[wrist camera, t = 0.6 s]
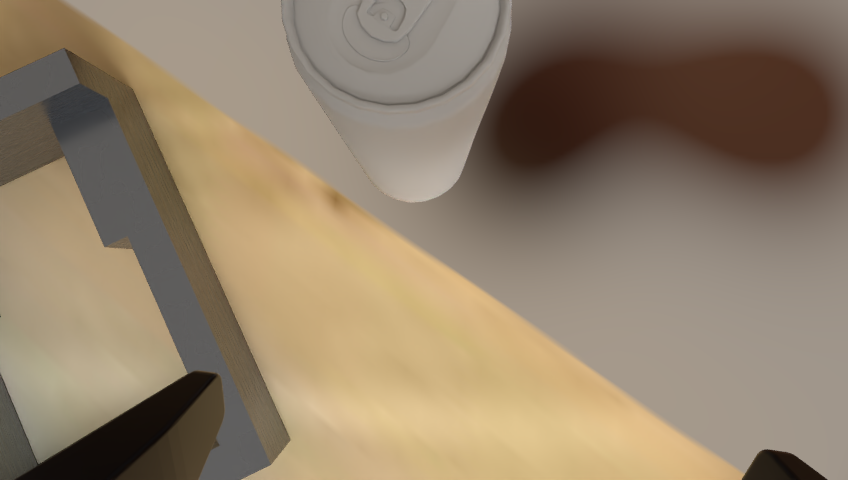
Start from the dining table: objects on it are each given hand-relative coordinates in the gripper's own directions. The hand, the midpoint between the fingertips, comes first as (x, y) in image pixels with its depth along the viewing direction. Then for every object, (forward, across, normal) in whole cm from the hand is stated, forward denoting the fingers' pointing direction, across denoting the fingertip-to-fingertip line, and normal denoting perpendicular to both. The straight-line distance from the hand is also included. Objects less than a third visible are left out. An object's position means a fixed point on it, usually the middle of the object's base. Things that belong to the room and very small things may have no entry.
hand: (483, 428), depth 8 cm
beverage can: (+15, +3, 0) cm, 15 cm away
